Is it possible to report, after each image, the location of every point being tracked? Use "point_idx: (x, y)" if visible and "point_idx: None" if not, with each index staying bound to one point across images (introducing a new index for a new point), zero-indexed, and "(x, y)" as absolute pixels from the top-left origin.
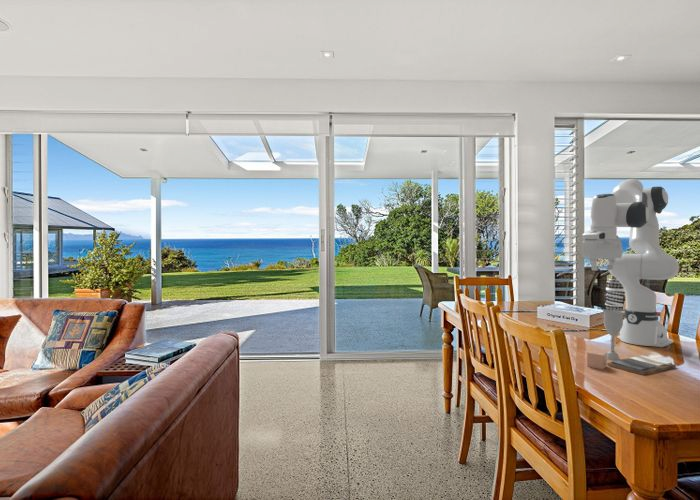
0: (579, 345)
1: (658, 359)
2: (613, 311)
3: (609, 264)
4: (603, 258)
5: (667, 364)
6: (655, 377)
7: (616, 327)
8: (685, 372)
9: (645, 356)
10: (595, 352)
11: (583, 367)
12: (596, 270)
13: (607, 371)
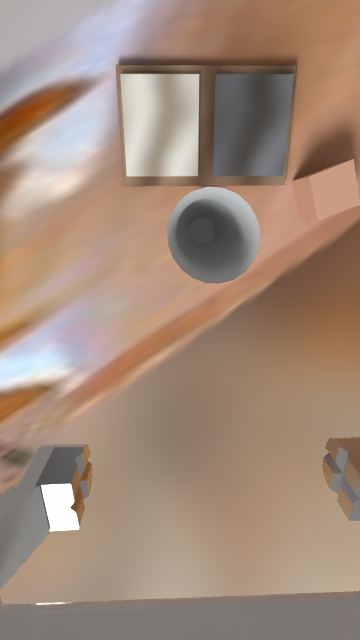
0: (151, 350)
1: (126, 118)
2: (180, 257)
3: (38, 528)
4: (352, 592)
5: (146, 75)
6: (284, 35)
7: (222, 207)
8: (145, 17)
9: (130, 161)
10: (337, 194)
11: None
12: (344, 439)
13: (340, 146)
